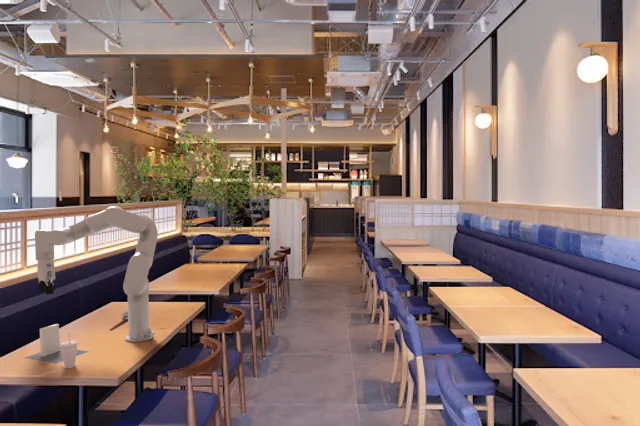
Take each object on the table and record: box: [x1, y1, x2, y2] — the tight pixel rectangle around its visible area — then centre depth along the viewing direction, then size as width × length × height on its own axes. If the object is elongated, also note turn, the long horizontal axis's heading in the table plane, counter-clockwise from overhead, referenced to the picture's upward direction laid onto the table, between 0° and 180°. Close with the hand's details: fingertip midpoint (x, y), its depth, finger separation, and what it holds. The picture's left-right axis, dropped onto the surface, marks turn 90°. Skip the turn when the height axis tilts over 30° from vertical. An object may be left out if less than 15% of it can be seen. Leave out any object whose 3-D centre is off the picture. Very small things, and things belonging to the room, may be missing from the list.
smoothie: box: [60, 331, 79, 369], centre depth 196 cm, size 6×6×14 cm
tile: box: [39, 323, 61, 357], centre depth 212 cm, size 2×8×12 cm, turn 156°
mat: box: [24, 347, 89, 364], centre depth 211 cm, size 20×16×1 cm
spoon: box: [109, 311, 128, 331], centre depth 265 cm, size 11×33×3 cm, turn 178°
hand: (46, 292), depth 225 cm, fingers open, 9 cm apart
